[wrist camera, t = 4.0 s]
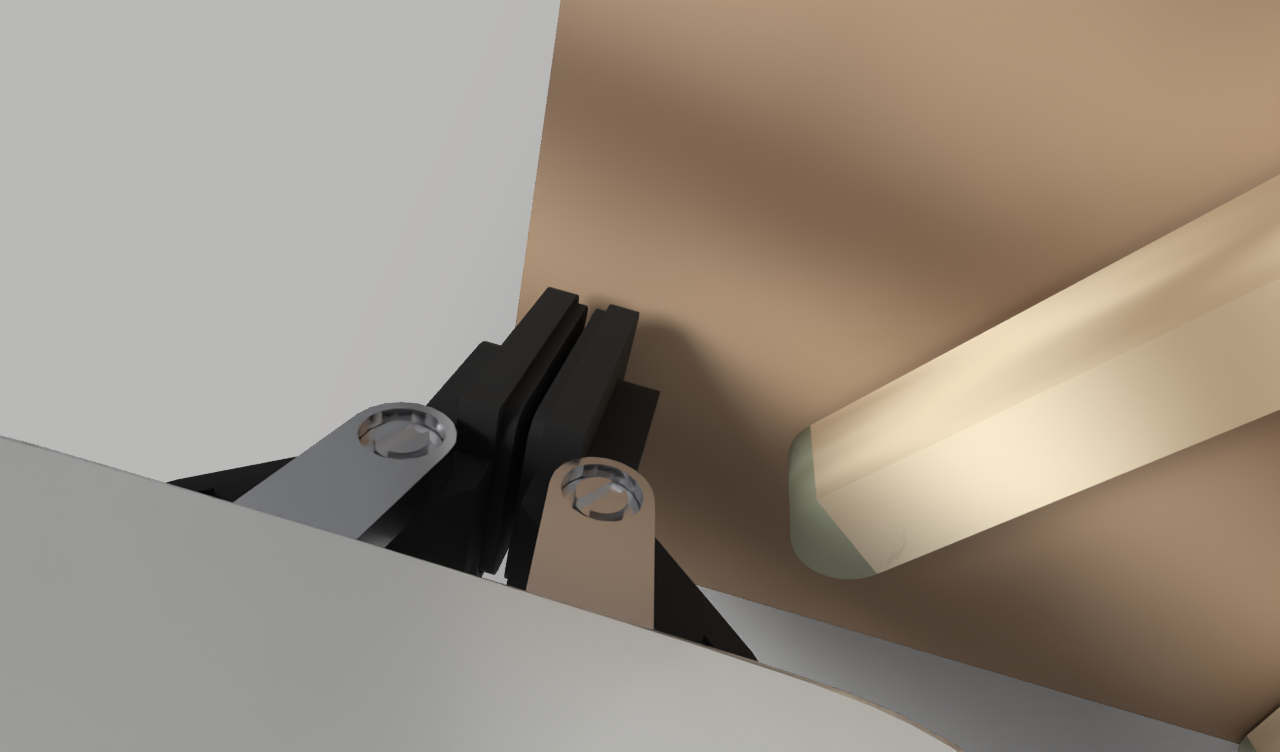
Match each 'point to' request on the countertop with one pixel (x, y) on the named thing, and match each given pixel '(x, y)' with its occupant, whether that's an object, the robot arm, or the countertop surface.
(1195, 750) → the countertop surface
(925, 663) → the countertop surface
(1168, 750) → the countertop surface
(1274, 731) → the tongs fixed
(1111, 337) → the tong arm
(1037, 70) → the board
